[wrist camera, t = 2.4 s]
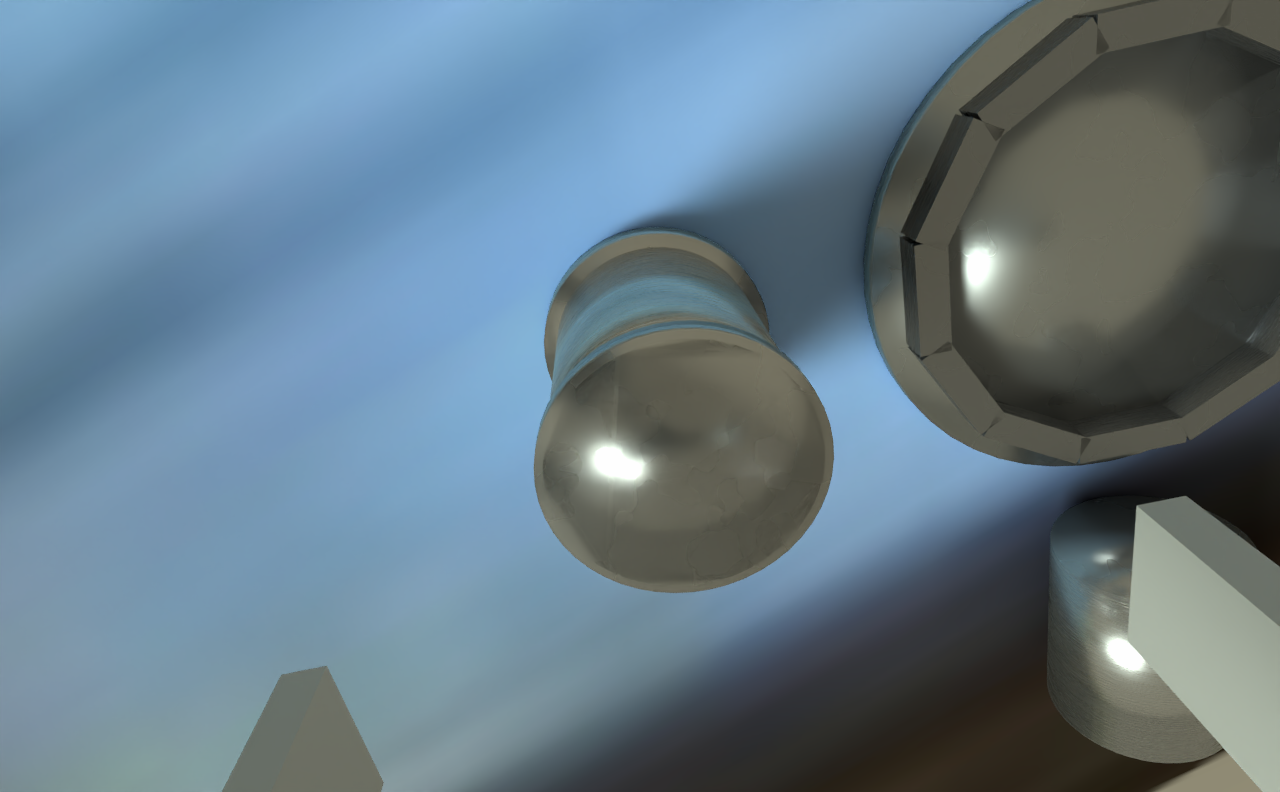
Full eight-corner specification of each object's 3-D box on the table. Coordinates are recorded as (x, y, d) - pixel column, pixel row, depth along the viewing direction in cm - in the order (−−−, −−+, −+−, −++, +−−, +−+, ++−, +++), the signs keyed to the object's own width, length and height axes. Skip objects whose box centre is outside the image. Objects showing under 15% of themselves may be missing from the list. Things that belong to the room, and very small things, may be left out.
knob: (520, 253, 24) (485, 360, 16) (746, 204, 24) (825, 287, 16) (574, 450, 27) (567, 624, 19) (776, 408, 27) (856, 566, 19)
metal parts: (840, 26, 22) (926, 21, 17) (1407, -102, 22) (1694, -152, 16) (897, 673, 33) (961, 805, 27) (1280, 597, 32) (1427, 716, 26)
